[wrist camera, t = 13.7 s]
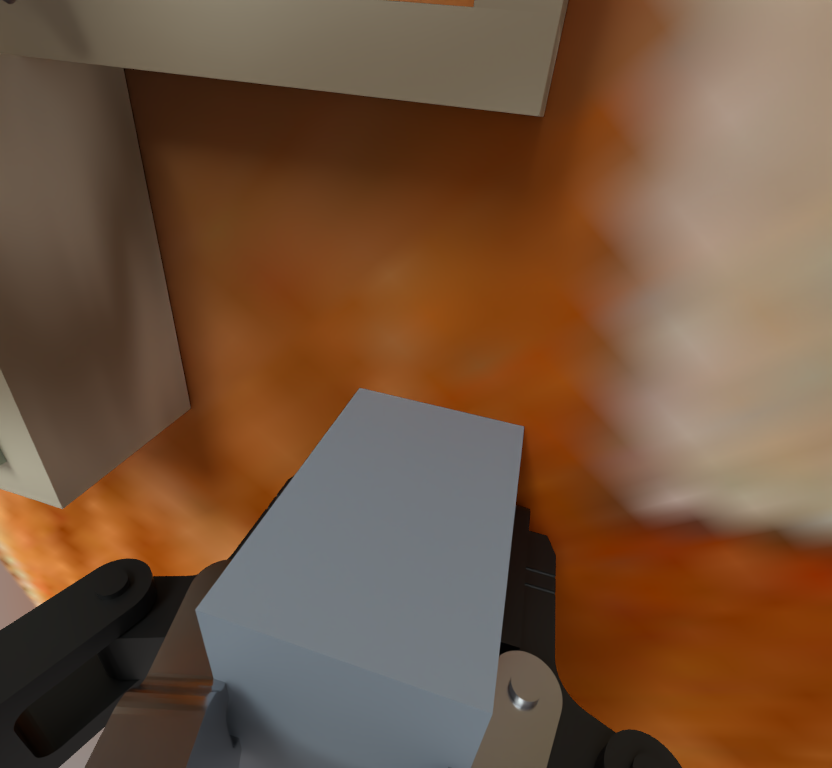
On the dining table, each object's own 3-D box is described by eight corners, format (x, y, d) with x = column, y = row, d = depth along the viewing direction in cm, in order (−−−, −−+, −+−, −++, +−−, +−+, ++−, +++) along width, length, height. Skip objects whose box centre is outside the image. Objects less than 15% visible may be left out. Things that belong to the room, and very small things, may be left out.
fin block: (360, 387, 11) (194, 609, 6) (524, 426, 10) (492, 713, 5) (353, 548, 14) (241, 782, 9) (479, 586, 13) (432, 862, 8)
